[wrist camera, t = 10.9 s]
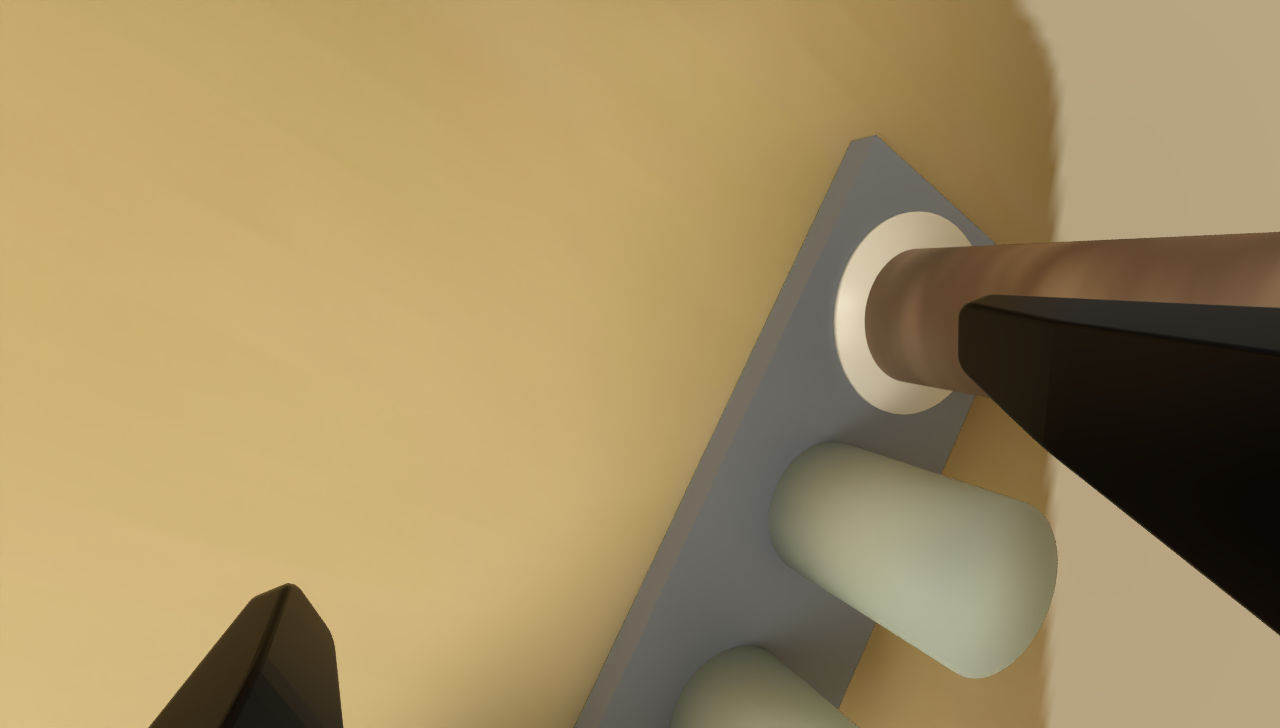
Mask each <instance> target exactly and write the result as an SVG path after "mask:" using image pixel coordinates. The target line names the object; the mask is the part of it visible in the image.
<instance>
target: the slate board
mask: <svg viewBox="0 0 1280 728" xmlns="http://www.w3.org/2000/svg"><path fill="white" fill-rule="evenodd" d="M987 245H996V244H995V243H994V242H993V241H992V240H991V239H990V238H989V237H988V236H987V235H985V234H984V233H983V232H982V231H981V230H980V229H979V228H978V227H977V226H976V225H974V224H973V223H972V222H971V221H970V220H969V219H968V218H967V217H966V216H965V215H963V214H962V213H961V212H960V211H959V210H958V209H957V208H956V207H955V206H954V205H953V204H951V203H950V202H949V201H948V200H947V199H946V198H945V197H944V196H943V195H942V194H940V193H939V192H938V191H937V190H936V189H935V188H934V187H933V186H932V185H931V184H929V183H928V182H927V181H926V180H925V179H924V178H923V177H922V176H921V175H920V174H919V173H917V172H916V171H915V170H914V169H913V168H912V167H911V166H910V165H909V164H908V163H906V162H905V161H904V160H903V159H902V158H901V157H900V156H899V155H898V154H897V153H895V152H894V151H893V150H892V149H891V148H890V147H889V146H888V145H887V144H886V143H884V142H883V141H882V140H881V139H880V138H879V137H878V136H877V135H874V136H870V137H866V138H862V139H858V140H854V141H851V144H850V146H849V148H848V150H847V152H846V154H845V156H844V158H843V160H842V163H841V165H840V167H839V169H838V171H837V173H836V175H835V177H834V180H833V182H832V184H831V186H830V188H829V190H828V192H827V194H826V196H825V199H824V201H823V203H822V205H821V207H820V209H819V211H818V213H817V215H816V218H815V220H814V222H813V224H812V226H811V228H810V230H809V232H808V234H807V237H806V239H805V241H804V243H803V245H802V247H801V249H800V251H799V254H798V256H797V258H796V260H795V262H794V264H793V266H792V268H791V270H790V273H789V275H788V277H787V279H786V281H785V283H784V285H783V287H782V289H781V292H780V294H779V296H778V298H777V300H776V302H775V304H774V306H773V309H772V311H771V313H770V315H769V317H768V319H767V321H766V323H765V325H764V328H763V330H762V332H761V334H760V336H759V338H758V340H757V342H756V344H755V347H754V349H753V351H752V353H751V355H750V357H749V359H748V361H747V363H746V366H745V368H744V370H743V372H742V374H741V376H740V378H739V380H738V383H737V385H736V387H735V389H734V391H733V393H732V395H731V397H730V399H729V402H728V404H727V406H726V408H725V410H724V412H723V414H722V416H721V418H720V421H719V423H718V425H717V427H716V429H715V431H714V433H713V435H712V437H711V440H710V442H709V444H708V446H707V448H706V450H705V452H704V454H703V457H702V459H701V461H700V463H699V465H698V467H697V469H696V471H695V473H694V476H693V478H692V480H691V482H690V484H689V486H688V488H687V490H686V492H685V495H684V497H683V499H682V501H681V503H680V505H679V507H678V509H677V511H676V514H675V516H674V518H673V520H672V522H671V524H670V526H669V528H668V531H667V533H666V535H665V537H664V539H663V541H662V543H661V545H660V547H659V550H658V552H657V554H656V556H655V558H654V560H653V562H652V564H651V566H650V569H649V571H648V573H647V575H646V577H645V579H644V581H643V583H642V586H641V588H640V590H639V592H638V594H637V596H636V598H635V600H634V602H633V605H632V607H631V609H630V611H629V613H628V615H627V617H626V619H625V621H624V624H623V626H622V628H621V630H620V632H619V634H618V636H617V638H616V640H615V643H614V645H613V647H612V649H611V651H610V653H609V655H608V657H607V660H606V662H605V664H604V666H603V668H602V670H601V672H600V674H599V676H598V679H597V681H596V683H595V685H594V687H593V689H592V691H591V693H590V695H589V698H588V700H587V702H586V704H585V706H584V708H583V710H582V712H581V714H580V717H579V719H578V721H577V723H576V725H575V727H574V728H670V724H671V719H672V714H673V711H674V707H675V705H676V702H677V700H678V698H679V696H680V694H681V692H682V690H683V688H684V687H685V685H686V684H687V682H688V681H689V679H690V678H691V677H692V676H693V674H694V673H695V672H696V671H697V670H698V669H699V668H700V667H701V666H702V665H703V664H705V663H706V662H707V661H708V660H709V659H711V658H712V657H714V656H715V655H717V654H719V653H721V652H723V651H725V650H728V649H730V648H733V647H738V646H746V645H749V646H757V647H761V648H764V649H766V650H768V651H769V652H771V653H772V654H774V655H775V656H776V657H777V658H778V659H779V660H781V661H782V662H783V663H784V664H785V665H786V666H788V667H789V668H790V669H791V670H792V671H793V672H795V673H796V674H797V675H798V676H799V677H801V678H802V679H803V680H804V681H805V682H806V683H808V684H809V685H810V686H811V687H812V688H813V689H815V690H816V691H817V692H818V693H819V694H820V695H822V696H823V697H824V698H825V699H826V700H827V701H829V702H830V703H831V704H832V705H833V706H834V707H836V708H837V709H838V708H839V706H840V704H841V701H842V699H843V697H844V695H845V692H846V690H847V688H848V685H849V683H850V681H851V679H852V676H853V674H854V672H855V669H856V667H857V665H858V663H859V660H860V658H861V656H862V653H863V651H864V649H865V647H866V644H867V642H868V640H869V637H870V635H871V633H872V631H873V628H874V626H875V624H876V622H875V621H873V620H872V619H870V618H869V617H867V616H865V615H864V614H862V613H861V612H859V611H857V610H856V609H854V608H853V607H851V606H850V605H848V604H846V603H845V602H843V601H842V600H840V599H839V598H837V597H835V596H834V595H832V594H831V593H829V592H828V591H826V590H824V589H823V588H821V587H820V586H818V585H817V584H815V583H813V582H812V581H810V580H809V579H807V578H806V577H804V576H802V575H801V574H799V573H798V572H796V571H795V570H793V569H791V568H790V567H789V566H787V565H786V564H785V563H784V562H783V561H782V560H781V559H780V558H779V556H778V555H777V553H776V551H775V549H774V547H773V545H772V542H771V538H770V533H769V522H768V519H769V508H770V503H771V499H772V495H773V492H774V490H775V487H776V485H777V483H778V481H779V479H780V477H781V475H782V474H783V472H784V471H785V469H786V468H787V467H788V466H789V464H790V463H791V462H792V461H793V460H794V459H795V458H796V457H797V456H798V455H799V454H801V453H802V452H803V451H805V450H807V449H808V448H810V447H812V446H814V445H817V444H820V443H824V442H832V441H834V442H842V443H845V444H849V445H852V446H855V447H858V448H861V449H864V450H867V451H870V452H873V453H876V454H879V455H882V456H885V457H888V458H891V459H894V460H897V461H901V462H904V463H907V464H910V465H913V466H916V467H919V468H922V469H925V470H928V471H931V472H934V473H937V474H940V475H941V473H942V471H943V468H944V466H945V464H946V462H947V459H948V457H949V455H950V452H951V450H952V448H953V446H954V443H955V441H956V439H957V436H958V434H959V432H960V430H961V427H962V425H963V423H964V420H965V418H966V416H967V414H968V411H969V409H970V407H971V405H972V402H973V400H974V398H975V395H972V394H967V393H961V392H956V391H950V390H945V389H939V388H934V387H929V386H923V385H918V384H912V383H907V382H901V381H898V380H895V379H893V378H891V377H889V376H888V375H886V374H885V373H884V372H883V371H882V370H881V369H880V368H879V367H878V366H877V364H876V363H875V361H874V359H873V357H872V355H871V353H870V351H869V348H868V345H867V340H866V335H865V309H866V304H867V299H868V296H869V292H870V290H871V287H872V285H873V283H874V281H875V279H876V277H877V275H878V274H879V272H880V271H881V270H882V268H883V267H884V266H885V265H886V264H887V263H888V262H889V261H890V260H891V259H892V258H894V257H895V256H897V255H898V254H900V253H902V252H904V251H907V250H911V249H922V248H943V247H965V246H987Z"/></svg>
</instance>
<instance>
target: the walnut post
mask: <svg viewBox="0 0 1280 728" xmlns="http://www.w3.org/2000/svg"><path fill="white" fill-rule="evenodd" d="M990 294H997V295H1019V296H1040V297H1062V298H1083V299H1104V300H1126V301H1147V302H1168V303H1190V304H1211V305H1233V306H1254V307H1275V308H1280V232H1270V233H1248V234H1227V235H1204V236H1184V237H1183V236H1182V237H1161V238H1139V239H1119V240H1097V241H1096V240H1095V241H1076V242H1075V241H1074V242H1052V243H1030V244H1009V245H987V246H965V247H943V248H922V249H911V250H907V251H904V252H902V253H900V254H898V255H897V256H895V257H894V258H892V259H891V260H890V261H889V262H888V263H887V264H886V265H885V266H884V267H883V268H882V270H881V271H880V272H879V274H878V275H877V277H876V279H875V281H874V283H873V285H872V287H871V290H870V292H869V296H868V299H867V304H866V309H865V335H866V340H867V345H868V348H869V351H870V353H871V355H872V357H873V359H874V361H875V363H876V364H877V366H878V367H879V368H880V369H881V370H882V371H883V372H884V373H885V374H886V375H888V376H889V377H891V378H893V379H895V380H898V381H901V382H907V383H912V384H918V385H923V386H929V387H934V388H939V389H945V390H950V391H956V392H961V393H967V394H972V395H977V396H983V397H988V398H990V397H989V396H988V395H987V394H986V393H985V392H984V391H983V390H982V389H981V388H980V387H979V386H978V385H977V384H976V383H975V382H974V381H973V380H971V379H970V378H969V377H968V376H967V375H966V374H965V372H964V371H963V370H962V368H961V366H960V364H959V361H958V355H957V350H958V313H959V311H960V309H961V307H962V306H963V305H964V304H966V303H968V302H971V301H973V300H975V299H978V298H980V297H983V296H985V295H990Z"/></svg>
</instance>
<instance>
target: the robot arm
mask: <svg viewBox="0 0 1280 728" xmlns="http://www.w3.org/2000/svg"><path fill="white" fill-rule="evenodd" d="M957 355H958V361H959V364H960V366H961V368H962V370H963V371H964V372H965V374H966V375H967V376H968V377H969V378H970V379H971V380H973V381H974V382H975V383H976V384H977V385H978V386H979V387H980V388H981V389H982V390H983V391H984V392H985V393H986V394H987V395H988V396H989V397H990V398H991V399H992V400H993V401H994V402H995V403H997V404H998V405H999V406H1000V407H1001V408H1002V409H1003V410H1004V411H1005V412H1006V413H1007V414H1008V415H1009V416H1010V417H1011V418H1012V419H1013V420H1014V421H1015V422H1016V423H1017V424H1018V425H1019V426H1020V427H1022V428H1023V429H1024V430H1025V431H1026V432H1027V433H1028V434H1029V435H1030V436H1031V437H1032V438H1033V439H1034V440H1035V441H1036V442H1038V443H1039V444H1040V445H1041V446H1042V447H1043V448H1044V449H1046V450H1047V451H1048V452H1049V453H1050V454H1052V455H1053V456H1054V457H1055V458H1056V459H1058V460H1059V461H1060V462H1061V463H1063V464H1064V465H1065V466H1066V467H1068V468H1069V469H1070V470H1071V471H1073V472H1074V473H1075V474H1077V475H1078V476H1079V477H1080V478H1082V479H1083V480H1084V481H1085V482H1087V483H1088V484H1089V485H1091V486H1092V487H1093V488H1094V489H1095V490H1097V491H1098V492H1099V493H1101V494H1102V495H1103V496H1104V497H1106V498H1107V499H1108V500H1110V501H1111V502H1112V503H1113V504H1114V505H1116V506H1117V507H1118V508H1119V509H1121V510H1122V511H1123V512H1125V513H1126V514H1127V515H1128V516H1130V517H1131V518H1132V519H1133V520H1135V521H1136V522H1137V523H1138V524H1140V525H1141V526H1142V527H1143V528H1145V529H1146V530H1147V531H1148V532H1150V533H1151V534H1152V535H1154V536H1155V537H1156V538H1157V539H1159V540H1160V541H1161V542H1163V543H1164V544H1165V545H1166V546H1167V547H1169V548H1170V549H1171V550H1173V551H1174V552H1175V553H1176V554H1178V555H1179V556H1180V557H1181V558H1183V559H1184V560H1185V561H1186V562H1188V563H1189V564H1190V565H1191V566H1193V567H1194V568H1195V569H1196V570H1198V571H1199V572H1200V573H1202V574H1203V575H1204V576H1205V577H1207V578H1208V579H1209V580H1210V581H1212V582H1213V583H1214V584H1216V585H1217V586H1218V587H1219V588H1220V589H1222V590H1223V591H1224V592H1226V593H1227V594H1228V595H1229V596H1231V597H1232V598H1233V599H1234V600H1236V601H1237V602H1238V603H1239V604H1241V605H1242V606H1243V607H1244V608H1246V609H1247V610H1248V611H1250V612H1251V613H1252V614H1253V615H1255V616H1256V617H1257V618H1258V619H1260V620H1261V621H1262V622H1263V623H1265V624H1266V625H1267V626H1268V627H1270V628H1271V629H1272V630H1274V631H1275V632H1276V633H1277V634H1279V635H1280V308H1275V307H1254V306H1233V305H1211V304H1190V303H1168V302H1147V301H1126V300H1104V299H1083V298H1062V297H1040V296H1019V295H997V294H990V295H985V296H983V297H980V298H978V299H975V300H973V301H971V302H968V303H966V304H964V305H963V306H962V307H961V309H960V311H959V313H958V350H957ZM149 728H343V720H342V710H341V700H340V691H339V681H338V671H337V662H336V652H335V645H334V641H333V638H332V635H331V633H330V631H329V629H328V627H327V626H326V624H325V623H324V621H323V620H322V619H321V617H320V616H319V614H318V613H317V612H316V610H315V609H314V607H313V606H312V604H311V603H310V602H309V600H308V599H307V597H306V596H305V595H304V593H303V592H302V591H301V589H300V588H299V587H297V586H296V585H295V584H290V583H287V584H284V585H281V586H279V587H276V588H274V589H272V590H269V591H267V592H264V593H262V594H259V595H257V596H255V597H254V598H252V599H251V600H250V602H249V603H248V604H247V605H246V606H245V608H244V609H243V610H242V611H241V613H240V614H239V615H238V616H237V618H236V619H235V620H234V621H233V623H232V624H231V625H230V626H229V628H228V629H227V630H226V631H225V633H224V634H223V635H222V636H221V638H220V639H219V640H218V641H217V643H216V644H215V645H214V646H213V648H212V649H211V650H210V651H209V653H208V654H207V655H206V656H205V658H204V659H203V660H202V661H201V663H200V664H199V665H198V666H197V668H196V669H195V670H194V671H193V673H192V674H191V675H190V676H189V678H188V679H187V680H186V681H185V683H184V684H183V685H182V686H181V688H180V689H179V690H178V691H177V693H176V694H175V695H174V696H173V698H172V699H171V700H170V701H169V703H168V704H167V705H166V706H165V708H164V709H163V710H162V711H161V713H160V714H159V715H158V716H157V718H156V719H155V720H154V721H153V723H152V724H151V725H150V726H149Z"/></svg>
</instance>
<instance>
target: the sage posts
mask: <svg viewBox="0 0 1280 728" xmlns="http://www.w3.org/2000/svg"><path fill="white" fill-rule="evenodd" d="M768 522H769V533H770V538H771V542H772V545H773V547H774V549H775V551H776V553H777V555H778V556H779V558H780V559H781V560H782V561H783V562H784V563H785V564H786V565H787V566H789V567H790V568H791V569H793V570H795V571H796V572H798V573H799V574H801V575H802V576H804V577H806V578H807V579H809V580H810V581H812V582H813V583H815V584H817V585H818V586H820V587H821V588H823V589H824V590H826V591H828V592H829V593H831V594H832V595H834V596H835V597H837V598H839V599H840V600H842V601H843V602H845V603H846V604H848V605H850V606H851V607H853V608H854V609H856V610H857V611H859V612H861V613H862V614H864V615H865V616H867V617H869V618H870V619H872V620H873V621H875V622H876V623H878V624H880V625H881V626H883V627H884V628H886V629H887V630H889V631H891V632H892V633H894V634H895V635H897V636H898V637H900V638H902V639H903V640H905V641H906V642H908V643H909V644H911V645H913V646H914V647H916V648H917V649H919V650H920V651H922V652H924V653H925V654H927V655H928V656H930V657H931V658H933V659H935V660H936V661H938V662H939V663H941V664H942V665H944V666H946V667H947V668H949V669H950V670H952V671H953V672H955V673H957V674H959V675H961V676H963V677H967V678H984V677H988V676H991V675H994V674H996V673H998V672H1000V671H1002V670H1003V669H1005V668H1006V667H1008V666H1009V665H1010V664H1011V663H1013V662H1014V661H1015V660H1016V659H1017V658H1018V657H1019V656H1020V655H1021V654H1022V653H1023V652H1024V651H1025V649H1026V648H1027V647H1028V646H1029V644H1030V643H1031V642H1032V640H1033V639H1034V637H1035V636H1036V634H1037V632H1038V631H1039V629H1040V627H1041V625H1042V623H1043V621H1044V619H1045V617H1046V614H1047V612H1048V609H1049V606H1050V604H1051V600H1052V597H1053V593H1054V589H1055V584H1056V576H1057V561H1058V560H1057V548H1056V541H1055V538H1054V534H1053V531H1052V529H1051V526H1050V524H1049V522H1048V521H1047V519H1046V517H1045V516H1044V515H1043V514H1042V513H1041V512H1040V511H1039V510H1038V509H1037V508H1036V507H1034V506H1032V505H1030V504H1028V503H1026V502H1023V501H1020V500H1017V499H1013V498H1010V497H1007V496H1004V495H1001V494H998V493H995V492H992V491H989V490H986V489H983V488H980V487H977V486H974V485H971V484H968V483H965V482H962V481H959V480H955V479H952V478H949V477H946V476H943V475H940V474H937V473H934V472H931V471H928V470H925V469H922V468H919V467H916V466H913V465H910V464H907V463H904V462H901V461H897V460H894V459H891V458H888V457H885V456H882V455H879V454H876V453H873V452H870V451H867V450H864V449H861V448H858V447H855V446H852V445H849V444H845V443H842V442H834V441H832V442H824V443H820V444H817V445H814V446H812V447H810V448H808V449H807V450H805V451H803V452H802V453H801V454H799V455H798V456H797V457H796V458H795V459H794V460H793V461H792V462H791V463H790V464H789V466H788V467H787V468H786V469H785V471H784V472H783V474H782V475H781V477H780V479H779V481H778V483H777V485H776V487H775V490H774V492H773V495H772V499H771V503H770V508H769V519H768ZM670 728H859V727H858V726H857V725H856V724H854V723H853V722H852V721H851V720H850V719H849V718H847V717H846V716H845V715H844V714H843V713H841V712H840V711H839V710H838V709H837V708H836V707H834V706H833V705H832V704H831V703H830V702H829V701H827V700H826V699H825V698H824V697H823V696H822V695H820V694H819V693H818V692H817V691H816V690H815V689H813V688H812V687H811V686H810V685H809V684H808V683H806V682H805V681H804V680H803V679H802V678H801V677H799V676H798V675H797V674H796V673H795V672H793V671H792V670H791V669H790V668H789V667H788V666H786V665H785V664H784V663H783V662H782V661H781V660H779V659H778V658H777V657H776V656H775V655H774V654H772V653H771V652H769V651H768V650H766V649H764V648H761V647H757V646H749V645H746V646H738V647H733V648H730V649H728V650H725V651H723V652H721V653H719V654H717V655H715V656H714V657H712V658H711V659H709V660H708V661H707V662H706V663H705V664H703V665H702V666H701V667H700V668H699V669H698V670H697V671H696V672H695V673H694V674H693V676H692V677H691V678H690V679H689V681H688V682H687V684H686V685H685V687H684V688H683V690H682V692H681V694H680V696H679V698H678V700H677V702H676V705H675V707H674V711H673V714H672V719H671V724H670Z"/></svg>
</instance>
